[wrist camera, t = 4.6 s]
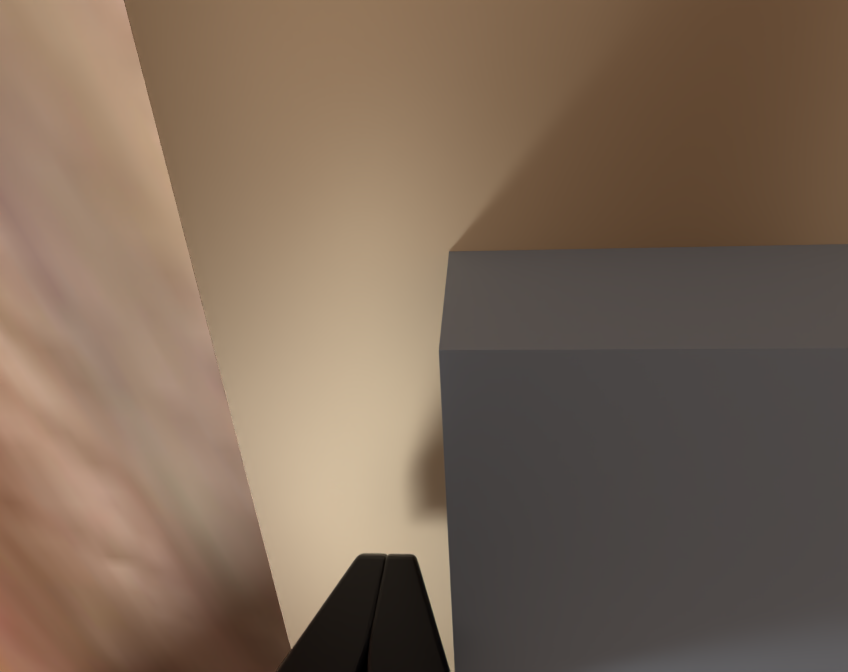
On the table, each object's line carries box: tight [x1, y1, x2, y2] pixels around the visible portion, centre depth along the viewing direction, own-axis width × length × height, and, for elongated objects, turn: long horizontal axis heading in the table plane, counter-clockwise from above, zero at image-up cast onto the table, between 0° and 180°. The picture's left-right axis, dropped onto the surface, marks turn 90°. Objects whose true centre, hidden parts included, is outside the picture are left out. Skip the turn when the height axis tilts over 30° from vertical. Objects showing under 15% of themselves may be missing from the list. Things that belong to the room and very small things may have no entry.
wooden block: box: [124, 0, 848, 672], centre depth 11 cm, size 11×18×4 cm, turn 3°
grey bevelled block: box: [439, 244, 848, 672], centre depth 8 cm, size 6×9×2 cm, turn 3°
